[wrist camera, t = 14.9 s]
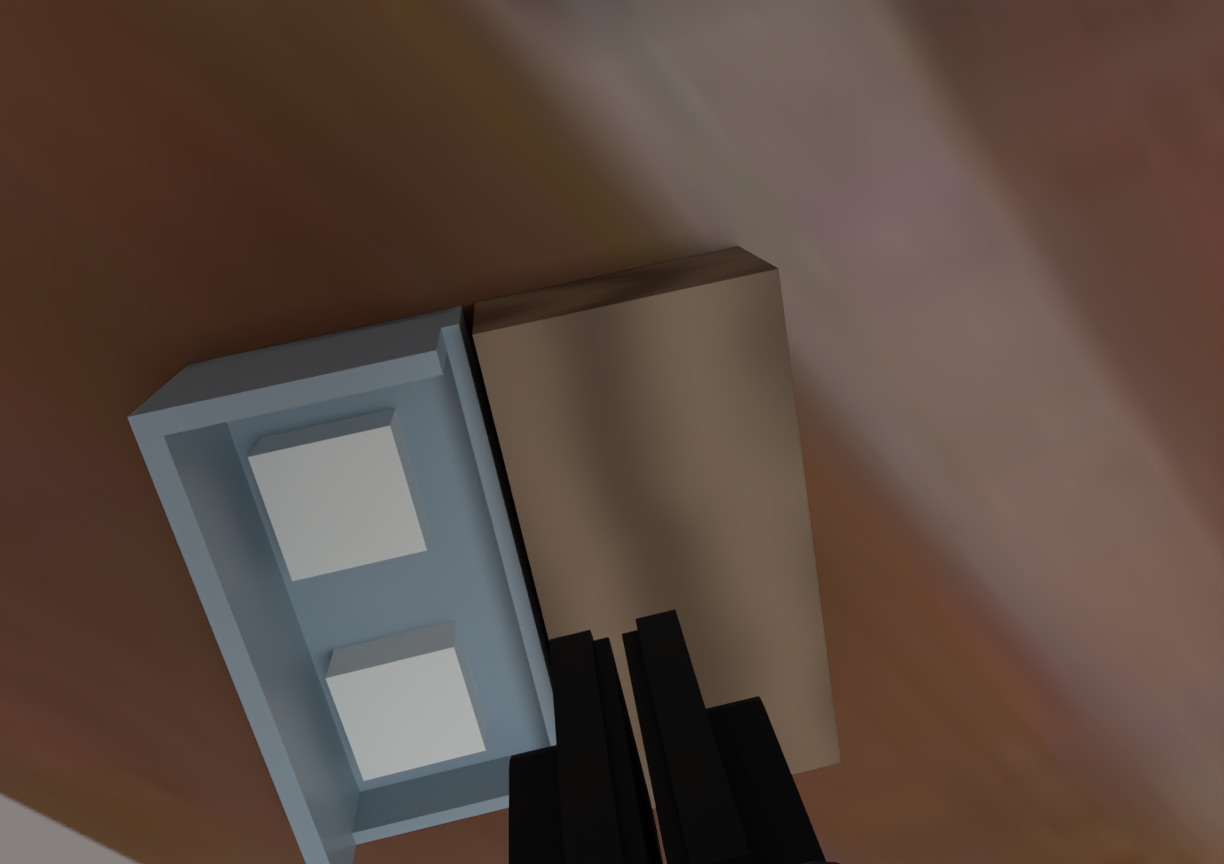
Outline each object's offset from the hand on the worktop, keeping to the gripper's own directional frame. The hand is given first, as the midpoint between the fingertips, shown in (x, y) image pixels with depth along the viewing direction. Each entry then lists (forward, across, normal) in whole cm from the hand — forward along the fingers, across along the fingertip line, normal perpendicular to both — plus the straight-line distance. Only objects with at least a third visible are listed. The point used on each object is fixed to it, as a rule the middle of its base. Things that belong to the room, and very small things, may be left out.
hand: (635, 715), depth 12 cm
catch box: (+23, +9, +10) cm, 27 cm away
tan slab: (+24, -2, +10) cm, 26 cm away
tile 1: (+21, +9, +5) cm, 23 cm away
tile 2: (+21, +9, +14) cm, 27 cm away
